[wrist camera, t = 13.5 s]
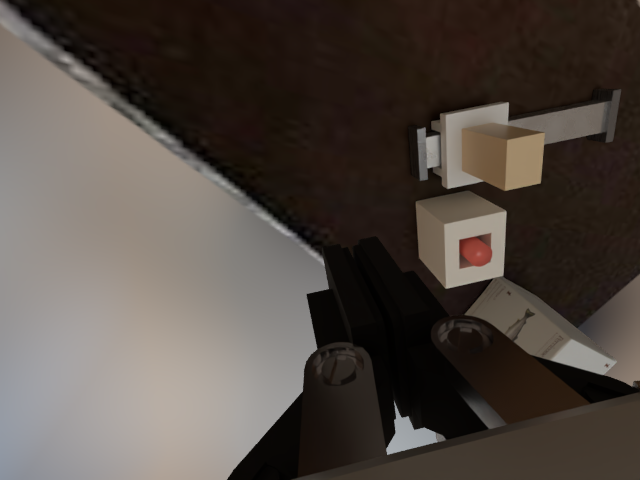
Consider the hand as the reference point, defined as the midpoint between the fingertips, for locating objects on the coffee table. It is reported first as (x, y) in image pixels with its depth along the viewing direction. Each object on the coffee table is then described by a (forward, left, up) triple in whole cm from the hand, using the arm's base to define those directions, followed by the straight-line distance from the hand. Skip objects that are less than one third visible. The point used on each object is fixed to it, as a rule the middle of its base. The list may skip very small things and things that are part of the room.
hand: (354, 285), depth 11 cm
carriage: (+3, +17, -27) cm, 32 cm away
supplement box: (+25, +22, -27) cm, 43 cm away
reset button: (+12, +15, -24) cm, 31 cm away
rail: (+3, +22, -27) cm, 35 cm away
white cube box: (+12, +15, -27) cm, 33 cm away
